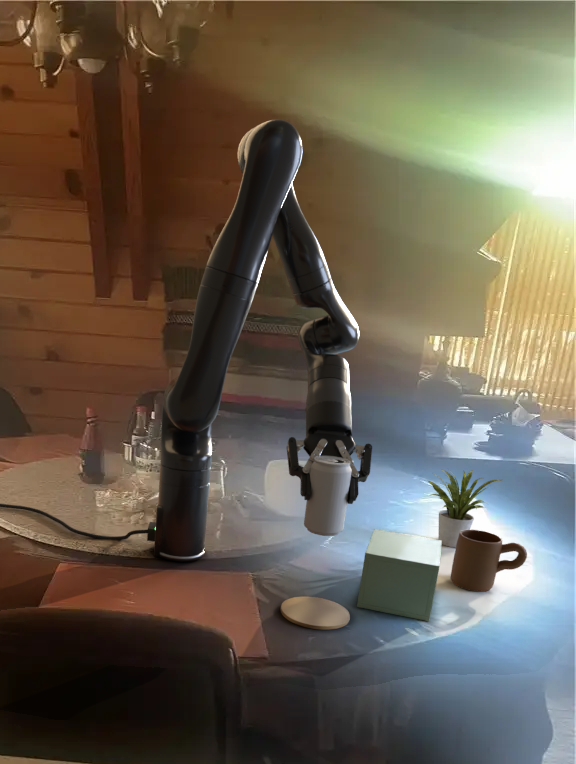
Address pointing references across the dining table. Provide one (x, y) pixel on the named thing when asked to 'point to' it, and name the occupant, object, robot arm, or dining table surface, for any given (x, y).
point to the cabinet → (400, 574)
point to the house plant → (457, 507)
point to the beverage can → (328, 495)
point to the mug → (482, 559)
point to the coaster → (315, 613)
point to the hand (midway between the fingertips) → (329, 499)
